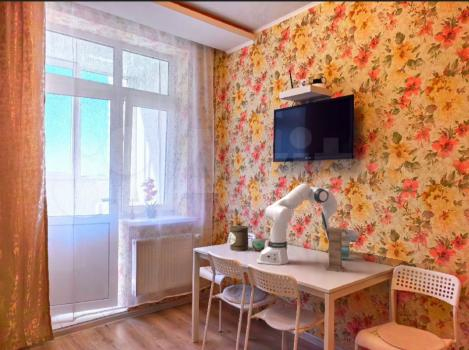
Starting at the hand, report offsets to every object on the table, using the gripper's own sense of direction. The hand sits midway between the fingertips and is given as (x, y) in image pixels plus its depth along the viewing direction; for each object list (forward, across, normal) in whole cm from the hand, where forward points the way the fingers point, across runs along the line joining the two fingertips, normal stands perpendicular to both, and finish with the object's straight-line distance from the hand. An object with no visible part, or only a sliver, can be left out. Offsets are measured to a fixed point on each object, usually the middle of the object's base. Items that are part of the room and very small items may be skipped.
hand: (342, 229), depth 231 cm
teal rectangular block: (-10, 0, +5) cm, 11 cm away
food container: (-11, -63, +19) cm, 67 cm away
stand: (+11, 0, +31) cm, 33 cm away
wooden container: (-11, -81, +19) cm, 84 cm away
